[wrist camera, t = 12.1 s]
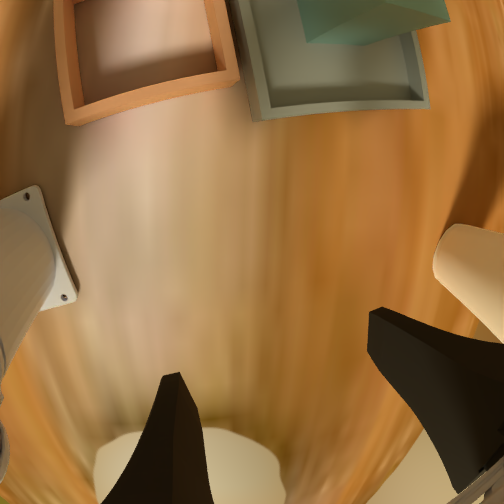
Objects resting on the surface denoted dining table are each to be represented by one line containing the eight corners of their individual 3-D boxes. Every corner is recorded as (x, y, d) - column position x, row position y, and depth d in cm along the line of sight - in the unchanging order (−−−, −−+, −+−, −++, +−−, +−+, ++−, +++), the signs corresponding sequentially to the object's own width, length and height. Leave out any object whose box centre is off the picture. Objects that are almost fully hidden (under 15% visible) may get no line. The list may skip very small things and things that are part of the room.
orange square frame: (79, 126, 14) (65, 124, 12) (65, 1, 11) (53, -14, 9) (231, 86, 16) (240, 79, 14) (206, -34, 12) (212, -53, 10)
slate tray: (252, 122, 17) (262, 120, 15) (215, -58, 12) (220, -73, 10) (412, 109, 19) (430, 109, 17) (375, -41, 14) (389, -49, 12)
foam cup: (442, 196, 23) (564, 246, 11) (485, 218, 26) (578, 262, 14) (408, 293, 26) (509, 373, 14) (457, 297, 29) (538, 356, 17)
